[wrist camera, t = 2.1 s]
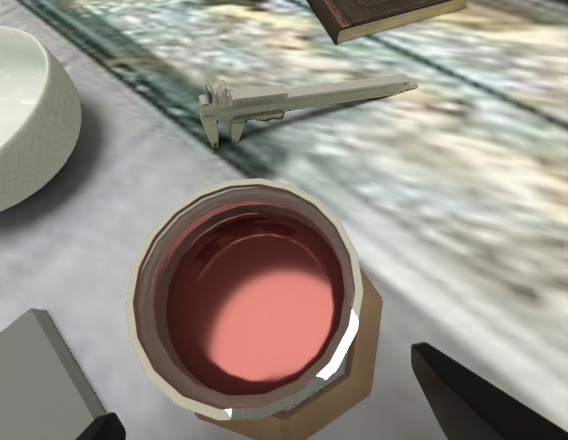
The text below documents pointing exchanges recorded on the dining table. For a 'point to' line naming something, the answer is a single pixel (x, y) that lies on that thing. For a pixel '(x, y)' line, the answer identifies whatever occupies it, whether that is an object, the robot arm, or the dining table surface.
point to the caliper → (286, 101)
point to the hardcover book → (375, 14)
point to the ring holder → (332, 398)
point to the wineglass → (244, 299)
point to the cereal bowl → (33, 116)
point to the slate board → (42, 383)
